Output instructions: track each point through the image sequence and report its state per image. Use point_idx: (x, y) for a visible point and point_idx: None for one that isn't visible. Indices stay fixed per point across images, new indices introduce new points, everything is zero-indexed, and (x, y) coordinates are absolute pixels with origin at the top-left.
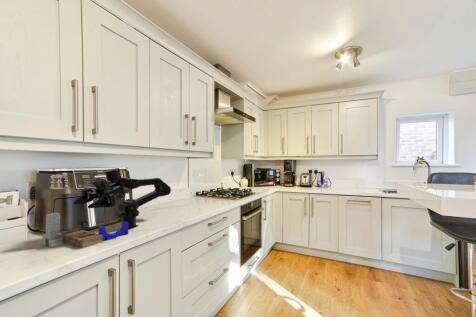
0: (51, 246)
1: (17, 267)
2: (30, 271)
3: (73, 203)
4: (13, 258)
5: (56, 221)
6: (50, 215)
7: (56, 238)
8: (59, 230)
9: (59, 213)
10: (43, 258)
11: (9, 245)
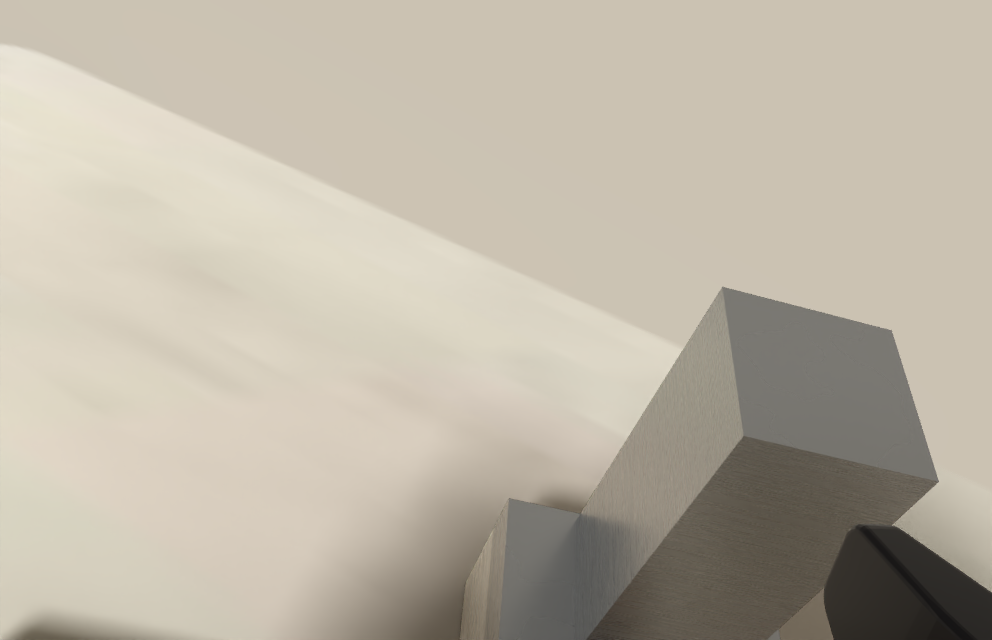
0: (469, 581)
1: (217, 192)
2: (5, 153)
3: (849, 547)
4: (486, 302)
5: (662, 474)
6: (720, 294)
7: (489, 588)
8: (594, 625)
9: (749, 424)
10: (183, 342)
11: (969, 509)
